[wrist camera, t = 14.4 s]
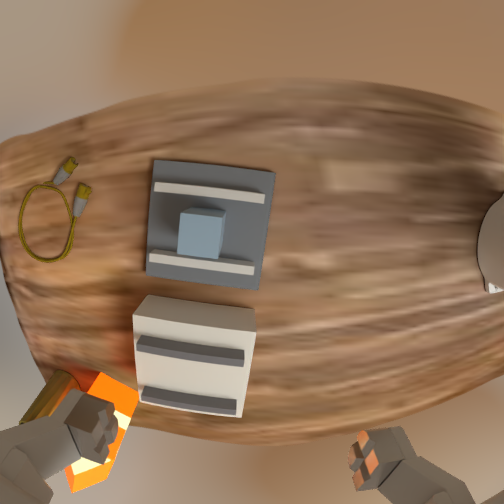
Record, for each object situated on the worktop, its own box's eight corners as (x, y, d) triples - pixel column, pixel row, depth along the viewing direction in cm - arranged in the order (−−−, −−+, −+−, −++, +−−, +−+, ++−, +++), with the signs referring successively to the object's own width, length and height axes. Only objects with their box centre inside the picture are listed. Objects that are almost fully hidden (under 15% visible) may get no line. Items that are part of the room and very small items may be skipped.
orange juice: (141, 393, 40) (103, 491, 21) (129, 420, 42) (96, 506, 23) (99, 371, 39) (45, 459, 20) (91, 400, 41) (47, 480, 22)
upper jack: (254, 309, 37) (257, 341, 29) (241, 390, 40) (241, 427, 32) (147, 294, 36) (126, 322, 28) (150, 376, 39) (135, 411, 32)
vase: (57, 389, 41) (23, 436, 27) (51, 365, 39) (11, 413, 25) (83, 399, 41) (52, 452, 27) (78, 376, 40) (41, 429, 26)
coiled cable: (111, 238, 35) (104, 242, 33) (35, 270, 35) (28, 274, 33) (84, 152, 32) (77, 151, 30) (12, 197, 32) (4, 199, 30)
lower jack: (274, 173, 33) (277, 172, 30) (257, 287, 36) (259, 296, 33) (156, 160, 32) (149, 158, 29) (148, 272, 35) (140, 280, 32)
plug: (226, 210, 33) (222, 217, 27) (222, 245, 34) (217, 259, 28) (191, 206, 32) (180, 212, 27) (188, 240, 33) (177, 253, 28)
